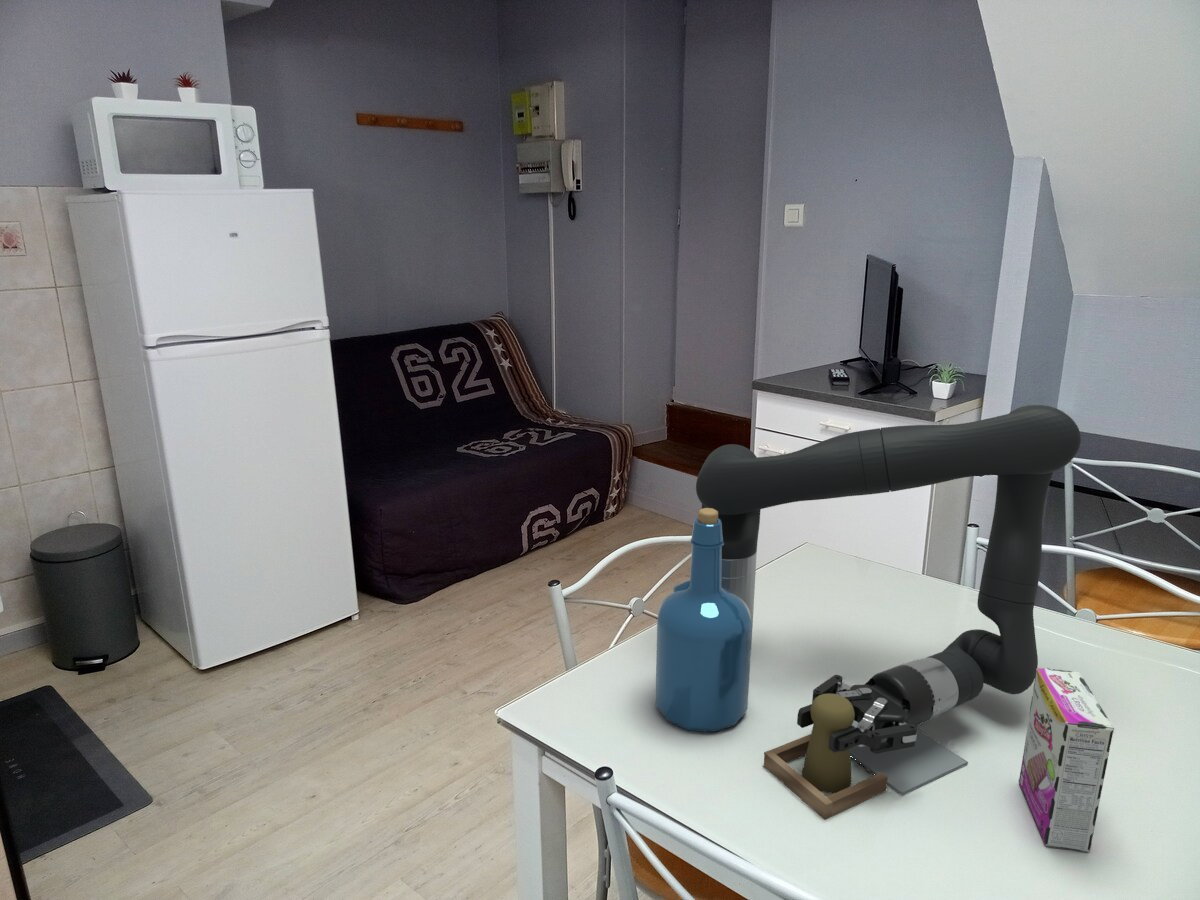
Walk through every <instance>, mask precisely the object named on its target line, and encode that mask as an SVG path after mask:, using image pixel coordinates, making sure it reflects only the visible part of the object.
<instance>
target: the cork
mask: <svg viewBox="0 0 1200 900" xmlns="http://www.w3.org/2000/svg"><path fill="white" fill-rule="evenodd" d="M811 704H812V705H811V710H810V712H811V718H812V720H813V722H814V724H812V729H811V732H810V734H811V737H810V741H809V745H808V749H807V753H806V755H805V757H804V762H803V766H802V770H801V776H802V777H803V778H805V779H806V780H807V781H808V782H809V783H811V784H812V785H813V786H814V787H815V788H817V789H818V790H819V791H820V792H821V793H825V794H826V793H827V794H828V793H829V794H834V793H837V792H839V791H841V790H843V789H846V788H848V787H850V786H852V782H853V781H852V763H851V757H850V749H847V750H845V751H840V752H839V751H837V752H835V753H834V752H832V751H831V750H830V749H829V737H830V735H831V734H832V733H835V732H837V731H840V730H842V729H846V728H849V727H850V726H852V724H853V721H854V717H855V713H854V708H853V706H852V704H851V703H850V702H849V700H847V699H846V698H844V697H842V696H840V695H837V694H830V693H828V694H822V695H819V696H818V697H816V698H815V699H814V700H813V703H812V702H811Z"/></svg>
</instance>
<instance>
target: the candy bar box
mask: <svg viewBox="0 0 1200 900" xmlns="http://www.w3.org/2000/svg"><path fill="white" fill-rule="evenodd" d="M1032 690H1033V691H1032V696H1031V701H1030V708H1029V714H1028V724H1027V728H1026V733H1025V734H1026V735H1025V743H1024V749H1023V754H1022V761H1021V768H1020V772H1019V778H1018V784H1019V787H1020V789H1021V791H1022V793H1023V795H1024V798H1025V801H1026V803H1027V804H1028V807H1029V810H1030V812H1031V814H1032V817H1033V819H1034V822H1035V823H1036V826H1037V830H1038V831H1039V834H1040V836H1041V839H1042V841H1043V844H1044V846H1045V847H1049V848H1052V849H1053V848H1054V849H1060V850H1072V851H1077V852H1085V853H1090V852H1091V848H1092V847H1091V846H1092V841H1093V836H1094V831H1095V827H1096V821H1097V818H1098V817H1097V816H1098V812H1099V807H1100V801H1101V796H1102V790H1103V787H1104V782H1105V781H1104V779H1105V777H1106V776H1105V775H1106V771H1107V767H1108V761H1109V755H1110V749H1111V744H1112V739H1113V734H1114V730H1115V727H1114V725H1113V724H1112V723H1111V720H1109V718H1108V716H1107V714H1106V713H1105V711H1104V710H1103V707H1102V706H1101V705H1100V703H1099V702H1098V700H1097V698H1096V697H1095V695H1094V694H1093V691H1092V690H1091V689H1090V687H1089V685H1088V684H1087V682H1086V681H1085V678H1083V676H1082V674H1081V673H1080V672H1079V671H1071V670H1063V669H1051V668H1048V667H1047V668H1046V667H1039V668H1037V669H1036V677H1035V679H1034V681H1033V689H1032Z"/></svg>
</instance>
